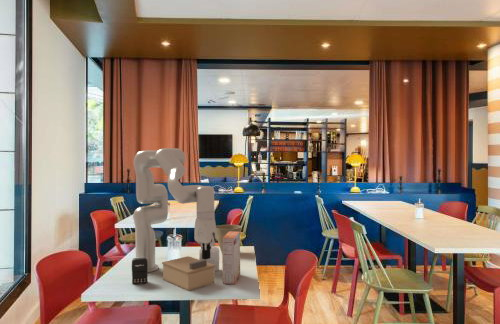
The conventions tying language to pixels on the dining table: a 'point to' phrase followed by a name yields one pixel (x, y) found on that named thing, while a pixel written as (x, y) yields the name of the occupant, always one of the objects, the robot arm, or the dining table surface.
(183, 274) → the mailer box
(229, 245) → the cracker box
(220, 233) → the plant pot
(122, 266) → the dining table surface
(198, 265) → the lid
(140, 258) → the battery charger
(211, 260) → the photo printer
